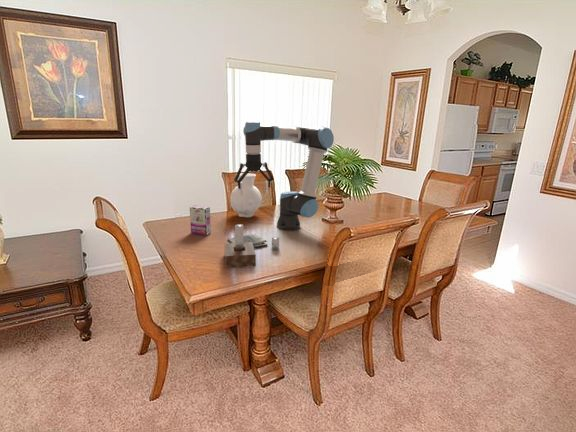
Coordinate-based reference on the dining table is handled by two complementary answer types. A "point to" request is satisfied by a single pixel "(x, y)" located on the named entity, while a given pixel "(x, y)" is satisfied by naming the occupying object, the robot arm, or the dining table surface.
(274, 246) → the short pin
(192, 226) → the candy bar box
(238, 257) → the hole block
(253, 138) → the robot arm
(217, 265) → the dining table surface
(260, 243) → the dish towel
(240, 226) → the long pin
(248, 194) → the vase
